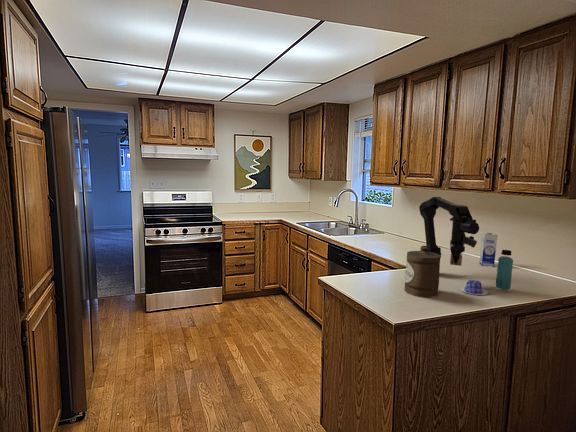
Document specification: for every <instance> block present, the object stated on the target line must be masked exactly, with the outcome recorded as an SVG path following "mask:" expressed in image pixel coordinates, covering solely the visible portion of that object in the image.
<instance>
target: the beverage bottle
mask: <svg viewBox="0 0 576 432" xmlns="http://www.w3.org/2000/svg"><path fill="white" fill-rule="evenodd" d="M501 255H502V256H500V257H498V259H497V261H498V262H497V265H496V266H497V269H496V276H495V284H494V285H495V288H497V289H501V290H505V291H507V290H508V291H509V290H510V289H511V287H512V276H513V275H512V273H513V266H514V265H513V264H514V259H513V258H512V257H510V256H512V251H511V250H510V249H502V250H501Z"/></svg>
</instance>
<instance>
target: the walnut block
mask: <svg viewBox="0 0 576 432" xmlns="http://www.w3.org/2000/svg"><path fill="white" fill-rule="evenodd" d="M449 260H450V261H449V264H450V265H451V266H459V267H461V266H462V264H463V263H462V262H463V253H461V254H460V256H459V259H458V262H457V263H455V262H454V259H453V256H452V253H451V252H450V259H449Z"/></svg>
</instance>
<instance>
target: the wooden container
mask: <svg viewBox="0 0 576 432" xmlns="http://www.w3.org/2000/svg"><path fill="white" fill-rule="evenodd" d="M427 250H428V247H426V245H421V246H420V250H410V251H407V252H406V263H405V275H404V276H405V277H404V278H405V279H404V291H405V293H407V294H409V295H411V296H415V297H420V298H434V297H437V296H438V295H439V284H440V272H441V271H440V268H441V267H440V266H441V258H440V255H439V254H436V253H432V252H428V251H427Z"/></svg>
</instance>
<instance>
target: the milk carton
mask: <svg viewBox="0 0 576 432" xmlns="http://www.w3.org/2000/svg"><path fill="white" fill-rule="evenodd" d="M481 235H482V236H481V246H480V255H479V265H480V266H481V267H488V266H492V267H491V268H495V260H496V251H497V243H498V234H493V233H492V232H487V233H483V234H481Z"/></svg>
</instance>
